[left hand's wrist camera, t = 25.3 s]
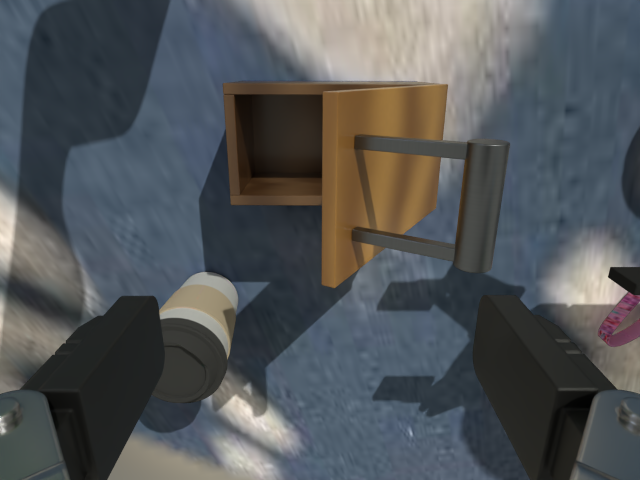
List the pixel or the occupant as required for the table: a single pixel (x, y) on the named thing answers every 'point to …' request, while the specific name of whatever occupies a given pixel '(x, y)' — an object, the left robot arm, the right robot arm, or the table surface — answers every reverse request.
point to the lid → (401, 179)
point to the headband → (616, 318)
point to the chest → (280, 138)
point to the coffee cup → (196, 338)
